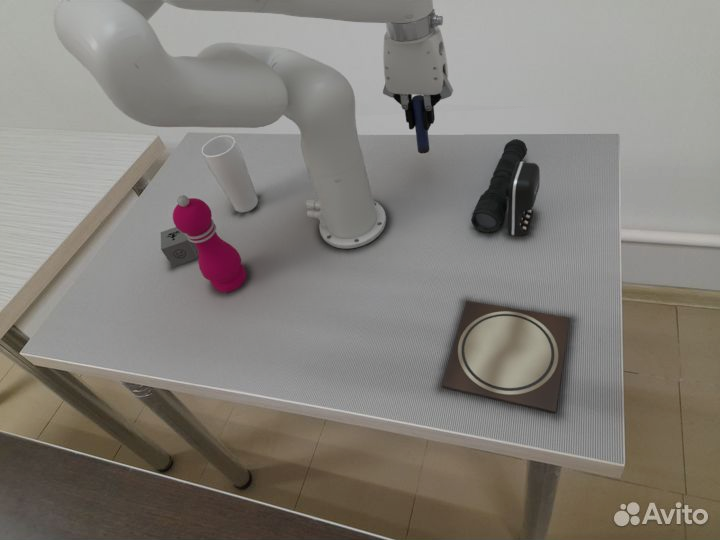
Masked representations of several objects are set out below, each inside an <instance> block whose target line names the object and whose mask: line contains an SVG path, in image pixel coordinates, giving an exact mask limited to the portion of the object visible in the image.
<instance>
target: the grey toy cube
mask: <svg viewBox="0 0 720 540" xmlns="http://www.w3.org/2000/svg"><path fill="white" fill-rule="evenodd" d="M160 250H161V252H162V253H163V255H164V256H165V257H166V259H167V260H168V261H169V263H170V264H171V266H172V267H173V268H175V267H177V266H181V265H184V264H187V263H189V262H192V261H196V260H199V253H198V249H197V247H196V245H195V244H194V243H192V242H190V241H189V240H188V239H187V237H186V236H185V233H183V232H181V231H180V230H178V228H177V227H176V226H175V227H171V228H169V229H166V230H163V231H160Z"/></svg>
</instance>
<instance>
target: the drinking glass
mask: <svg viewBox="0 0 720 540" xmlns="http://www.w3.org/2000/svg"><path fill="white" fill-rule="evenodd" d="M201 154H202V157H203V159H204V162H205V163H206V165H207V167H208V169H209V170H210V172H211V174H212V176H213V177H214V178H215V180H216V181H217V183H218V185H219V186H220V188H221V189H222V191H223V192H224V194H225V195H226V197H227V199H228V200H229V202H230V203H231V205H232V208H233V209H234V211H236V212H238V213H243V214H244V213H248V212H251V211H252V210H254V209H255V208H256V207H257V205H258V204H259V198H258V195H257V193H256V190H255V188H254V184H253V182H252V179H251V176H250V173H249V170H248V167H247V164H246V161H245V158H244V156H243V152H242V151H241V148H240V146H239V144H238V142H237V141H236V138H234V137H233V135H232V136H231V135H227V134H226V135H225V134H224V135H218V136H215V137H213V138H211V139H209V140H208V141H206V142H205V143H204V145H203V146H202V148H201Z"/></svg>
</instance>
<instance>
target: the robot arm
mask: <svg viewBox="0 0 720 540" xmlns="http://www.w3.org/2000/svg"><path fill="white" fill-rule="evenodd" d="M165 3H166V4H168V5H170V6H173V7H176V8H179V9H183V10H191V11H203V12H204V11H207V12H232V13H233V12H234V13H253V14H254V13H256V14H257V13H258V14H274V15H284V16H290V17H297V18H312V19H323V20H333V21H341V22H349V23H351V22H352V23H370V24H371V23H372V24H373V23H374V24H385V28H386V32H385V34H384V36H383V58H382V59H383V74H384V75H383V76H384V82H385V83H384V86H383V90H382V94H383V95H385V96H387V97H389V98H393V100H395V101H396V102H397V103H398V104H399V105H400V106H401V109H402V110H404V114H405V115H404V116H405V121H406V123H407V124H408V129H409V130H414V129H415V121H414V113H413V104H412V98H413V95H414V96H416V95H423V97H424V109H423V112H422V114H423V123H424V129H425V130H428V131H429V130H430V127H431V126H432V125H434V123H435V118H436V117H435V106H436V105H437V104H438V103H439V102H440V101H441V100H445V99H448V98H450V97H452V95H453V93H454V88H453V86H452V85H451V83H450V80H449V68H448V67H449V66H448V59H447V53H446V48H445V44H444V39H443V34H442V31H441V28H440V27H439V26H443V24H444V17H443V15H437V14H436V12H435V11H436V10H435V8H434V1H433V0H57V1H56V3H55V6H54V10H53V27H54V29H55V30H54V31H55V33H56V36H57V38H58V40H59V41H60V42H61V44H62V46H63V47H64V48H65V50H67V51H68V53H69V54H70V55H71V56H72V57H74V59H76V60H77V61H78V62H79V63H80V64H81V65H82V67H84V68H85V69H86V70H87V71H88V72H89V73H90V74H91V76H92V77H93V78H94V80H95V81H96V82H97V84H98V85H99V86H100V88H101V90H102V91H103V93H104V94H105V95H106V97H107V98H108V99H109V100H110V101H111V103H112V104H113V105H114V106H115V107H116V108H117V109H118V110H119V111H120V112H121V113H122V114H124V115H125V116H126V117H128V118H130V119H131V120H134V121H135V122H137V123H140V124H143V125H146V126H150V127H157V128H221V129H222V128H224V129H227V128H231V129H232V128H234V129H235V128H237V129H239V128H240V129H241V128H244V129H245V128H246V129H247V128H248V129H257V128H264V127H267V126H270V125H272V124H274V123H276V122H277V121H279V120H280V118H282V117H283V116H284V117H286V118H287V119H289V120H291V121H292V122H293V123H294V124H295V125H296V126H297V128H298V129H299V132H300V136H301V137H300V149H301V155H302V158H303V161H304V164H305V167H306V169H307V173H308V175H309V177H310V181H311V184H312V187H313V189H314V193H315V196H316V199H307V200H306V203H305V208H306V209H307V212H306V217H307V219H308V218H309V219H317V220H318V221H319V225H318V228H319V233H320V236H321V238H322V239H323V241H324V242H326V243H327V244H328V245H330V246H331V247H334V248H338V249H345V250H346V249H355V248H360V247H363V246H366V245H367V244H369V243H371V242H373V241H374V240H376V239H377V238H378V237H379V236H380V235H381V234H382V232H383V231H384V229H385V227H386V224H387V215H386V211H385V209H384V207H383V206H382V205H381V204H380V203H379V202H377V201H375V200H374V197H373V192H372V188H371V185H370V180H369V176H368V172H367V168H366V163H365V159H364V154H363V151H362V148H361V143H360V138H359V135H358V133H359V132H358V128H357V118H356V97H355V92H354V89H353V87H352V84H351V83H350V82H349V80H348V79H347V78H346V76H344V75H343V74H342V73H341V72H340V71H338V70H337V69H335V68H334V67H332V66H330V65H328V64H325V63H323V62H321V61H319V60H318V59H315V58H312V57H309V56H308V55H305V54H303V53H301V52H298V51H296V50H293V49H289V48H285V47H278V46H268V45H257V44H249V43H248V44H247V43H239V42H229V41H227V42H226V41H225V42H216V43H213V44H210V45H208V46H206V47H204V48H203V49H202V50H201V51H199V52H198V54H197V55H196V56H187V55H181V56H173V55H171V54H169V53H168V52H167V51H166V50H165V49H164V46H163V44H162V43H161V40H160V39H159V37H158V35H157V33H156V31H155V30H154V28H153V27H152V25H151V23H149V20H150V19H152V17H153V16H154V15H155V14H156V13H157V12H158V11H159V10H160V9H161V7H163V5H164V4H165Z"/></svg>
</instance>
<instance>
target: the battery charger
mask: <svg viewBox="0 0 720 540" xmlns="http://www.w3.org/2000/svg"><path fill="white" fill-rule="evenodd" d="M540 172H541V171H540V167H539V165H538V164H537V163H535V162H526V161H523V160H522V161H521V162H517V163H516V165H515V168H514V171H513V174H512V177H511V180H510V184H509V197H508V198H507V207H508V210H507V212H508V213H507V216H508V217H507V224H508V225H507V233H508V235H511V236H526V235H527V234H528V232H529V229H530V226H531V223H532V219H533V217H534V210H533V207H534V206H535V203H536V200H537V195H538V192H539V189H540V183H541V182H540V179H541V178H540V177H541V173H540Z"/></svg>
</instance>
